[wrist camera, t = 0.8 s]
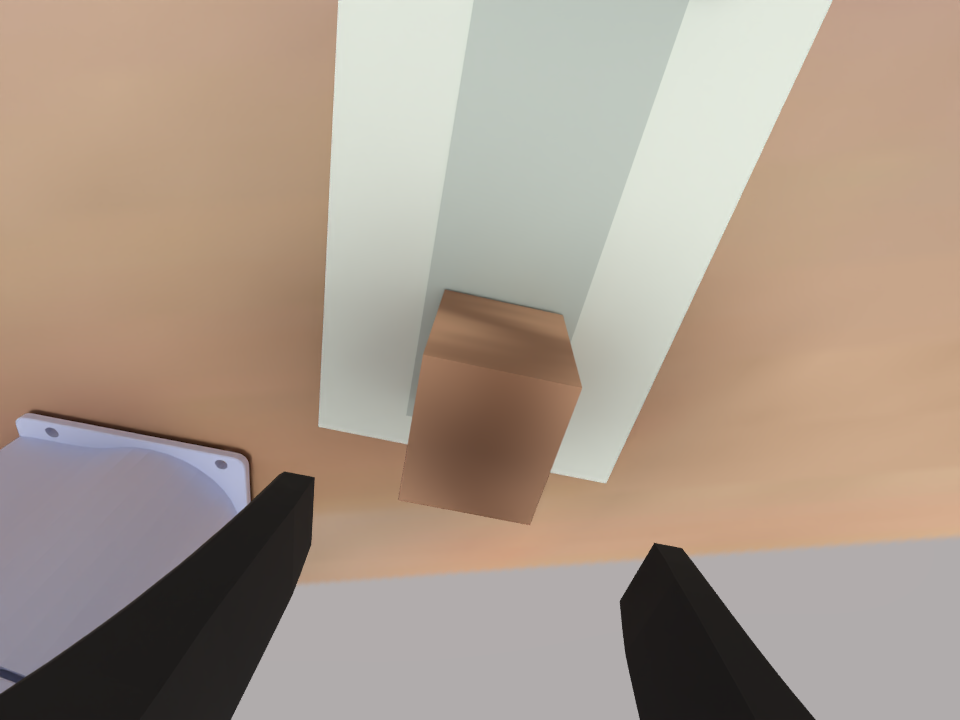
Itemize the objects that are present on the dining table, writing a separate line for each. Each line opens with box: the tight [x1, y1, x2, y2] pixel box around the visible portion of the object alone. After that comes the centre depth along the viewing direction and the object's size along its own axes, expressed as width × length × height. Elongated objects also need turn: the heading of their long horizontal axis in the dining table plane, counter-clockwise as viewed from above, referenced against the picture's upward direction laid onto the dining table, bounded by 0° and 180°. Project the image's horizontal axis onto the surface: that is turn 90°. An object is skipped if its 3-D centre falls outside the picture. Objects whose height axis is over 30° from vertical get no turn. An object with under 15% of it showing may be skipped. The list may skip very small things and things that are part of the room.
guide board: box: [318, 0, 832, 483], centre depth 12 cm, size 12×21×4 cm, turn 168°
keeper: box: [398, 290, 582, 525], centre depth 14 cm, size 4×5×4 cm
